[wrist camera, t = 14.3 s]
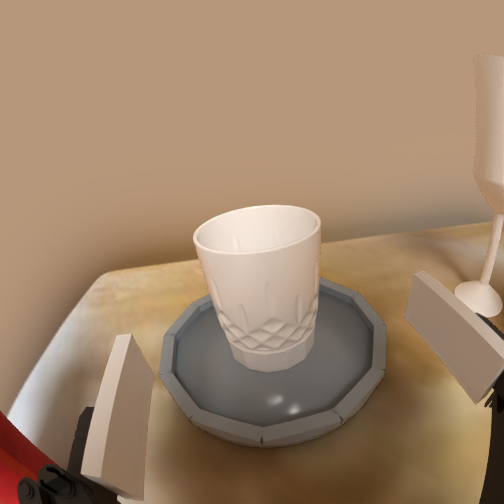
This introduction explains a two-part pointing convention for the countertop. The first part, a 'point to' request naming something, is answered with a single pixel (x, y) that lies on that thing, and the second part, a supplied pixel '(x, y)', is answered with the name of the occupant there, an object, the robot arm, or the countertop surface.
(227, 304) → the white cup
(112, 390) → the robot arm
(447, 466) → the countertop surface
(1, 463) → the coffee cup
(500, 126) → the champagne flute
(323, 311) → the plate
